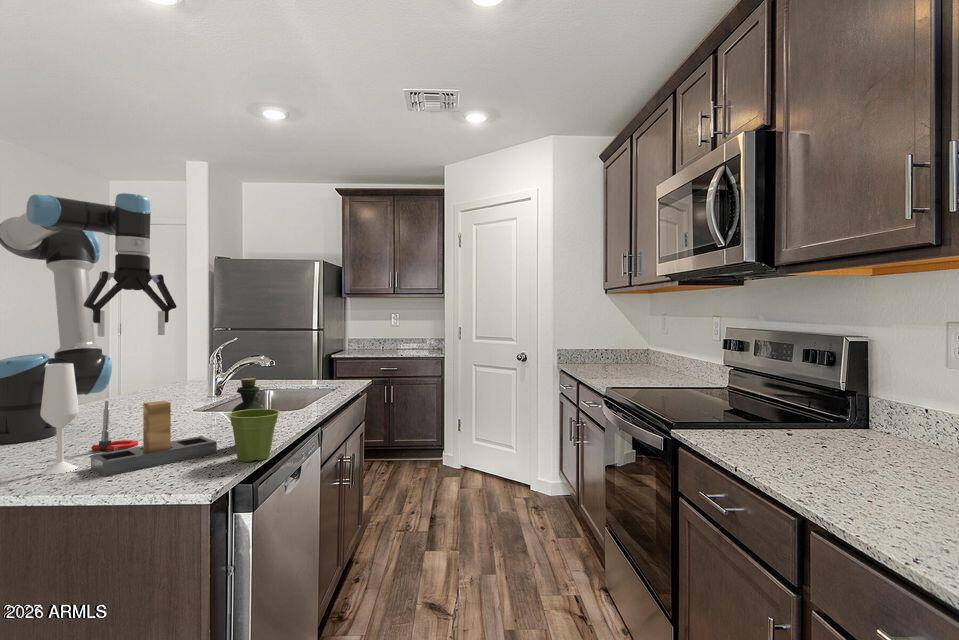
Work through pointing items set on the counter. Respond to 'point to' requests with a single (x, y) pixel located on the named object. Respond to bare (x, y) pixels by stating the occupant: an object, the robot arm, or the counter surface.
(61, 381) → the champagne flute
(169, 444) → the ochre peg
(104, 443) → the tow hook
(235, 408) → the potion bottle
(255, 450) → the plant pot
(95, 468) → the grey slotted tray
